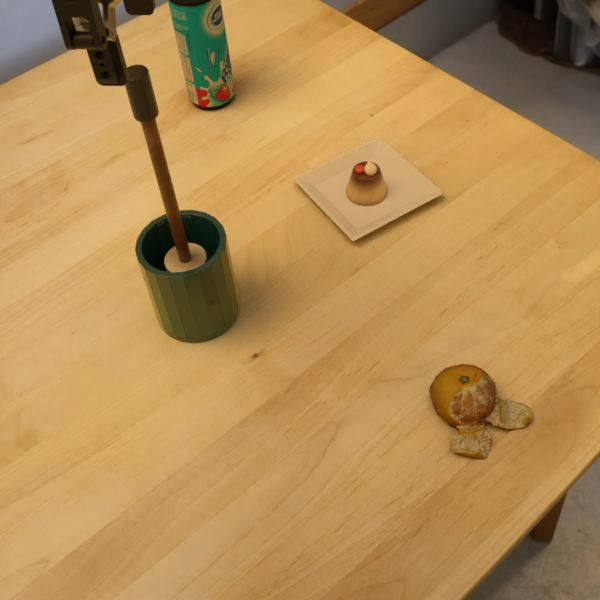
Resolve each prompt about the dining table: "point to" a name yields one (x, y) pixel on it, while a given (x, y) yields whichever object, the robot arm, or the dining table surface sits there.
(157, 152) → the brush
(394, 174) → the dessert
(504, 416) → the fruit
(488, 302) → the dining table surface
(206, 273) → the cup
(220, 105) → the beverage can
